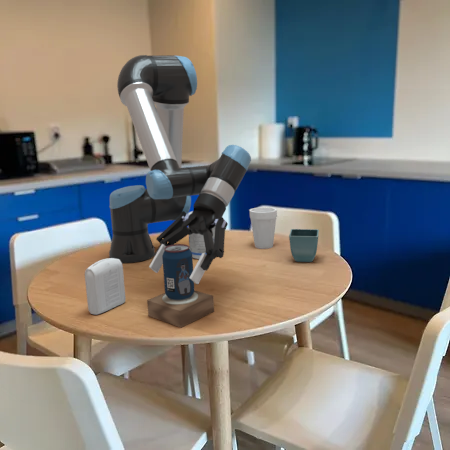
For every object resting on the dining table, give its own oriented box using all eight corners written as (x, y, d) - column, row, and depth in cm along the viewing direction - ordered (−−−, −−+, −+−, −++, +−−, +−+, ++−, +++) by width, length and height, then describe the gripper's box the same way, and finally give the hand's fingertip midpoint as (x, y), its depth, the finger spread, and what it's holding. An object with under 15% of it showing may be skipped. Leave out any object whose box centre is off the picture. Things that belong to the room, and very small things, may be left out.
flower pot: (318, 264, 146) (318, 236, 144) (289, 264, 148) (288, 235, 146) (318, 256, 155) (318, 229, 153) (291, 255, 157) (290, 228, 155)
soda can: (176, 289, 118) (173, 242, 116) (200, 293, 115) (197, 245, 112) (159, 299, 113) (155, 249, 110) (183, 303, 109) (180, 253, 106)
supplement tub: (191, 252, 165) (188, 210, 162) (218, 251, 165) (216, 209, 162) (188, 260, 156) (186, 216, 152) (218, 259, 156) (216, 215, 152)
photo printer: (116, 299, 126) (112, 253, 123) (128, 302, 123) (124, 255, 120) (85, 313, 117) (80, 264, 114) (98, 316, 115) (92, 267, 112)
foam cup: (278, 249, 164) (277, 212, 161) (251, 250, 164) (250, 213, 161) (275, 242, 173) (275, 206, 170) (250, 243, 173) (249, 207, 170)
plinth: (148, 315, 114) (147, 298, 113) (181, 301, 122) (180, 285, 121) (181, 327, 107) (179, 309, 106) (214, 311, 115) (213, 294, 114)
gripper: (260, 214, 113) (221, 294, 105) (186, 204, 129) (147, 273, 121) (246, 195, 108) (203, 278, 100) (170, 187, 124) (128, 258, 116)
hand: (172, 275), depth 111 cm, fingers open, 13 cm apart
